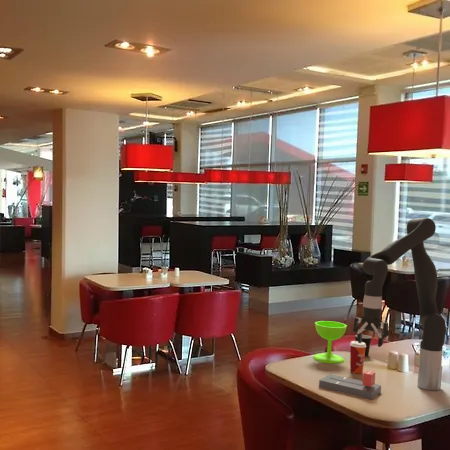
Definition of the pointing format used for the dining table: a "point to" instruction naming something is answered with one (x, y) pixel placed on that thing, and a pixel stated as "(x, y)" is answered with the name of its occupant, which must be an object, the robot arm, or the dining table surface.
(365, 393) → the console
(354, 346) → the paper cup
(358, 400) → the dining table surface
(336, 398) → the dining table surface
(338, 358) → the wineglass
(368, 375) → the fader
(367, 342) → the coffee mug
